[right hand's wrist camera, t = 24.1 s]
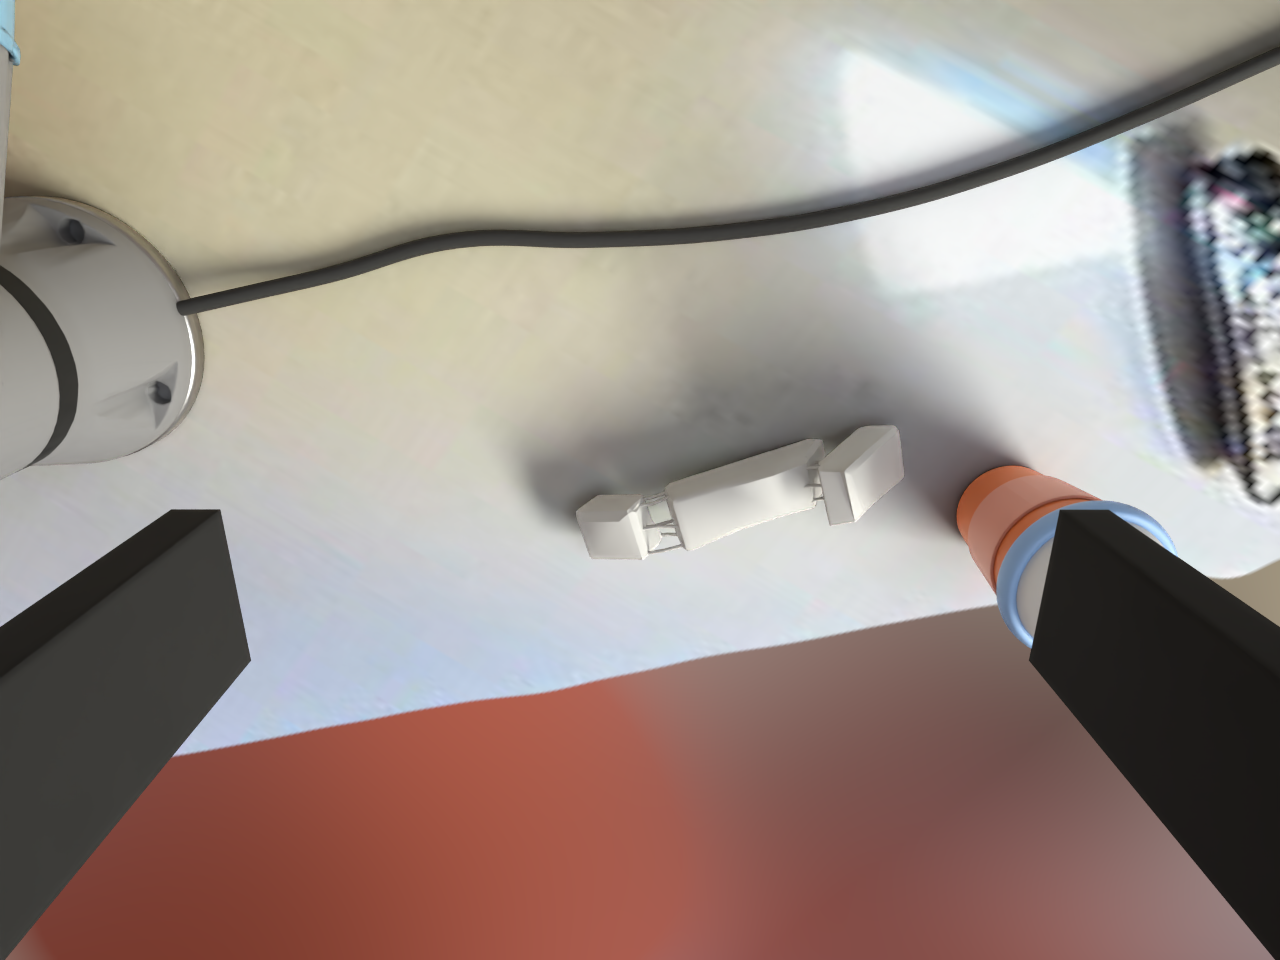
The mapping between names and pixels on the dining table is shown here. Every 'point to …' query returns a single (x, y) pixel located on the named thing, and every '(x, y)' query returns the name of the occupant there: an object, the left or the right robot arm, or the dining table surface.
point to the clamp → (750, 495)
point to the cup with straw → (1027, 535)
